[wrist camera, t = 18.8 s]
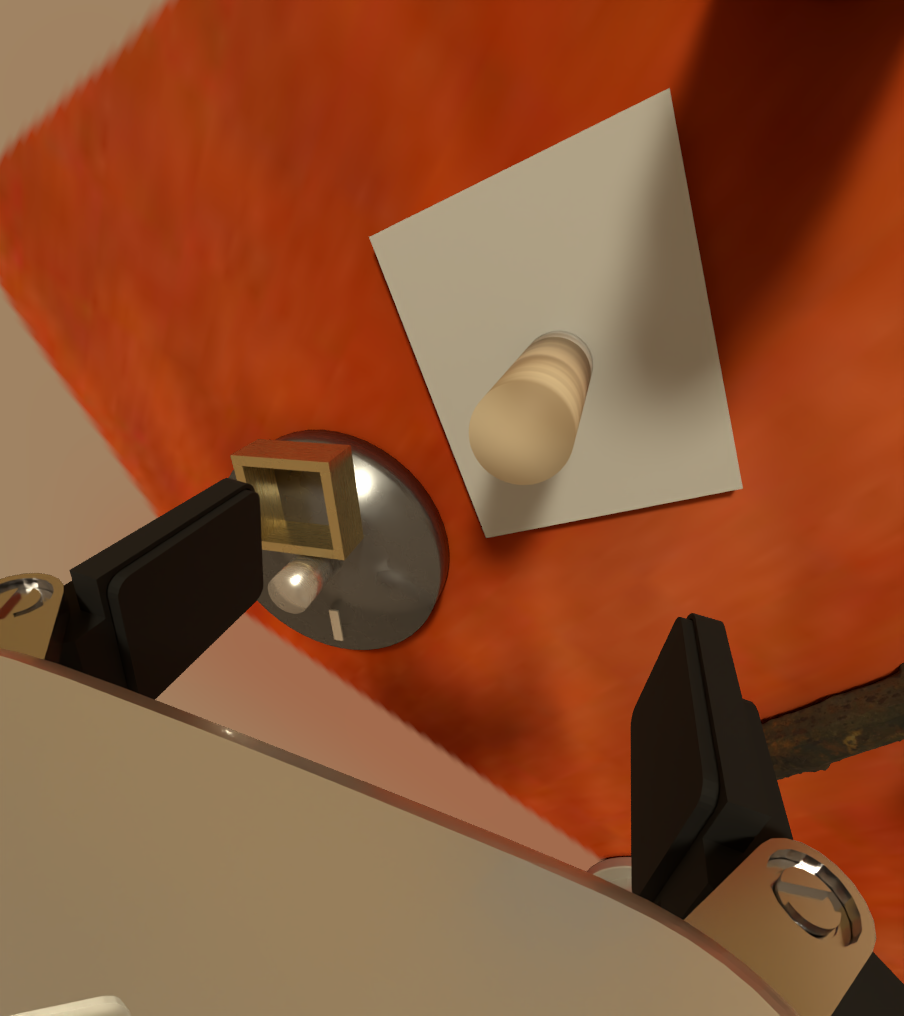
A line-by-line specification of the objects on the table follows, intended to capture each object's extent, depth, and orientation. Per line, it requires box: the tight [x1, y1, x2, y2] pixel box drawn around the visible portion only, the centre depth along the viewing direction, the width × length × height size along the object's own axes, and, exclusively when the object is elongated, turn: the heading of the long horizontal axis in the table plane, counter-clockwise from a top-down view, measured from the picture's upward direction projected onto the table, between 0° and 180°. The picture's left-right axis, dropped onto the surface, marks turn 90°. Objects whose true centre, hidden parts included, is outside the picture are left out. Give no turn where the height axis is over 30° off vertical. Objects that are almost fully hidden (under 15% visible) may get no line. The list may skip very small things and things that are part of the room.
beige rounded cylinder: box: [469, 331, 593, 485], centre depth 25 cm, size 4×4×12 cm
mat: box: [369, 88, 743, 538], centre depth 30 cm, size 20×16×1 cm
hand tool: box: [762, 663, 904, 780], centre depth 34 cm, size 19×4×5 cm, turn 136°
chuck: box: [229, 430, 449, 650], centre depth 38 cm, size 18×18×8 cm
